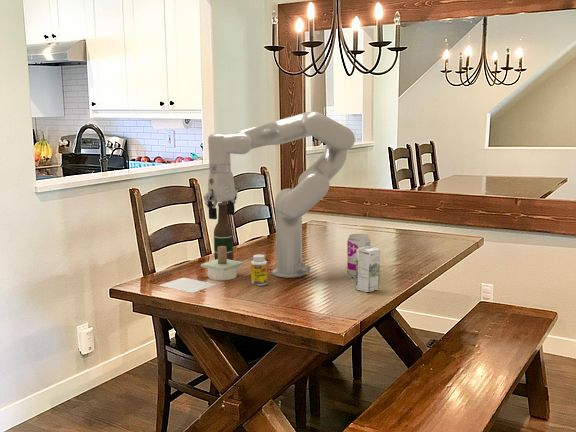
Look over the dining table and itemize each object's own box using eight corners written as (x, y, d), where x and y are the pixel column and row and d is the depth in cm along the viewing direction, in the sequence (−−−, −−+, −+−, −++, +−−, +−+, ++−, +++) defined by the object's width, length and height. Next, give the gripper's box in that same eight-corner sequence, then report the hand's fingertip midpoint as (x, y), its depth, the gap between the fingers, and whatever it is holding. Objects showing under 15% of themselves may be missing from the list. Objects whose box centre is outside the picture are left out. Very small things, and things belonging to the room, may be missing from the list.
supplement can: (355, 280, 218) (355, 239, 216) (343, 274, 226) (343, 234, 223) (374, 277, 222) (375, 236, 219) (361, 272, 229) (361, 232, 227)
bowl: (242, 276, 224) (241, 264, 223) (224, 283, 216) (223, 270, 215) (221, 272, 230) (221, 261, 229) (203, 279, 222) (202, 266, 221)
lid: (243, 264, 224) (243, 245, 222) (224, 271, 215) (223, 251, 214) (221, 260, 230) (220, 242, 229) (200, 266, 221) (200, 247, 220)
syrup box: (366, 286, 210) (366, 245, 208) (379, 290, 206) (380, 248, 204) (355, 290, 206) (355, 248, 204) (368, 293, 202) (369, 250, 200)
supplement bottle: (252, 286, 211) (252, 257, 210) (250, 282, 217) (249, 254, 215) (268, 285, 213) (268, 256, 211) (265, 281, 218) (265, 253, 216)
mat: (216, 285, 213) (216, 284, 213) (192, 294, 203) (192, 292, 203) (183, 279, 222) (183, 277, 222) (158, 287, 212) (158, 285, 212)
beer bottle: (230, 265, 242) (228, 204, 237) (211, 264, 243) (209, 204, 239) (236, 260, 249) (234, 201, 245) (217, 259, 251) (215, 201, 246)
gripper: (211, 171, 208) (213, 221, 210) (243, 167, 222) (245, 213, 224) (195, 170, 212) (197, 219, 215) (227, 166, 226) (229, 212, 229)
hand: (222, 216), depth 220 cm, fingers open, 9 cm apart
